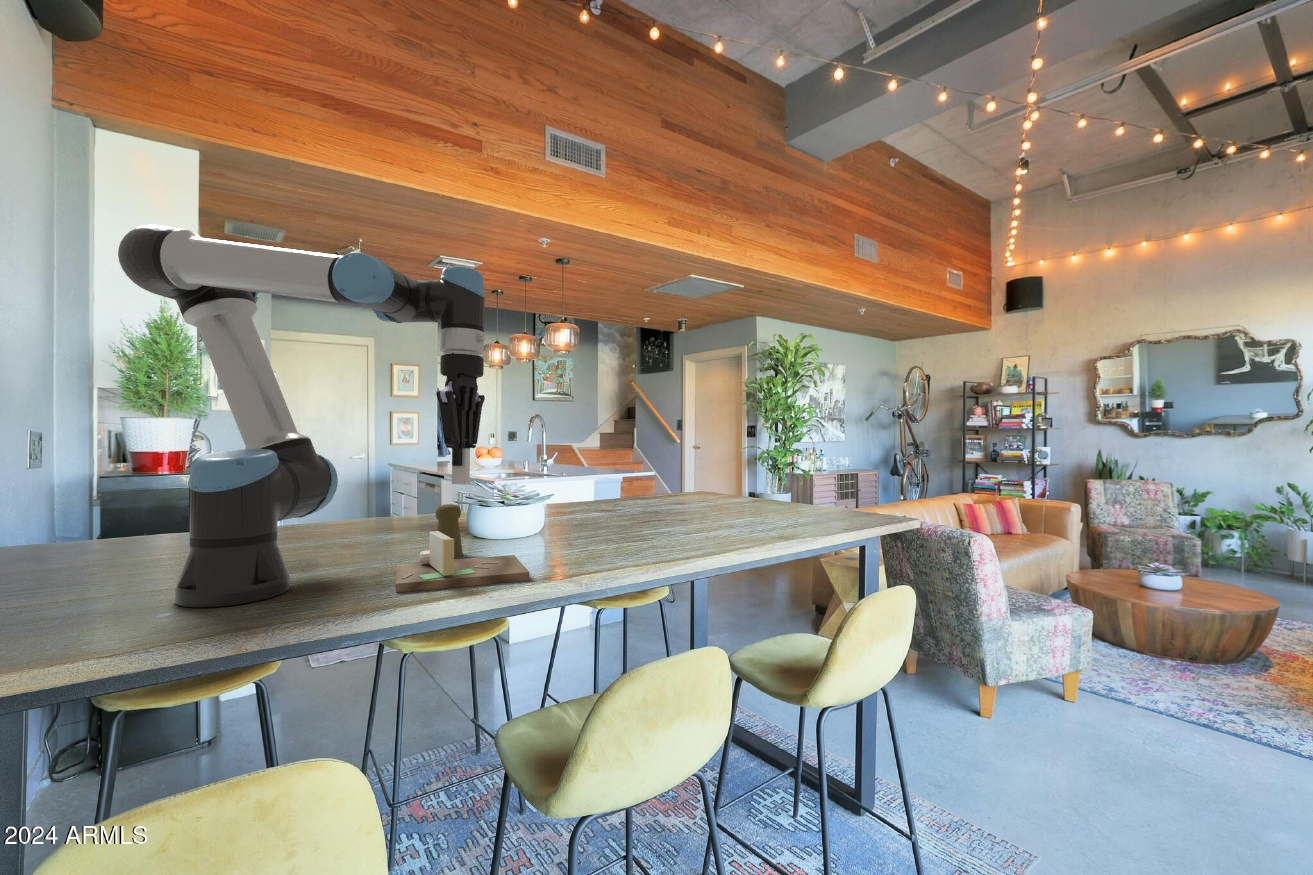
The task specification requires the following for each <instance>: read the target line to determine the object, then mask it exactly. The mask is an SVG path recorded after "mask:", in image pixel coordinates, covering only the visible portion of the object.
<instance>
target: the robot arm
mask: <svg viewBox="0 0 1313 875" xmlns="http://www.w3.org/2000/svg"><path fill="white" fill-rule="evenodd" d="M117 257H118V262H119V264H120V267H121V269H122V271H123V272H124V273H125V274H124V275H126V277H128V279H130V280H131V281H132V283H134V284H135V285H136V286H138V287H139V288H141V289H142V290H145V291H146V292H149V293H151V294H155V295H158V296H160V297H165V298H167V299H171V300H175V302H176V304H177V306H178V309H179V311H180V314H181V317H182V318H183V321H184V322H185V323H186V324H188V325H191V327H192V326H193V327H196V329H197V330H198V332H199V334H200V337H201V339H202V341H203V344H204V347H205V349H206V352H207V354H208V357H209V359H210V361H211V364H212V366H213V370H214V371H215V374H216V377H217V379H218V382H219V384H220V387H221V388H222V392H223V395H224V397H225V399H226V402H227V404H228V406H229V409H230V411H231V414H232V416H233V419H234V421H235V423H236V426H237V429H238V431H239V434H240V436H241V439H242V441H243V443H244V446H245V448H244V449H236V450H235V449H233V450H223V451H216V452H211V453H206V454H202V455H199V456H198V457H196V458H194V460H193V461H192V462H191V464H190V468H189V478H188V482H187V487H188V509H189V510H188V512H189V513H188V515H189V516H188V519H189V520H188V521H189V522H188V523H189V525H188V526H189V529H188V530H189V552H188V554H187V557H186V560H185V563H184V565H183V568H182V570H181V572H180V574H179V575H180V576H179V578H178V580H177V583H176V585H175V589H174V599H175V600H174V603H175V604H176V605H177V606H180V607H186V608H215V607H218V608H219V607H224V606H225V607H227V606H228V607H229V606H235V605H236V606H237V605H243V604H248V603H252V602H253V603H254V602H257V601H258V602H259V601H262V600H266V599H267V600H268V599H271V598H274V597H277V596H280V595H283V594H284V593H286V592H287V591H289V590H290V588H291V587H290V586H291V581H290V580H291V576H290V572H289V570H288V567H287V565H286V562H285V559H284V557H283V554H282V551H281V550H280V547H279V543H278V531H279V530H278V527H279V526H278V522H281V521H286V520H289V519H290V520H291V519H296V518H299V519H300V518H305V517H306V516H309V515H312V514H315V513H317V512H320V511H321V510H324V508H326V507H327V506H328V505H329V504H330V503H331V501H332V500H333V498H334V496H335V494H336V492H337V489H338V483H339V478H338V472H337V470H336V468H335V466H334V464H333V463H332V461H330V459H328V458H326V457H324V456H323V455H321V454H319V453H317V452H316V449H315V447H314V444H313V442H312V440H311V438H310V437H309V436H307V435H304V434H302V433H300V432H299V431H298V430H297V427H296V425H295V422H294V419H293V417H292V415H291V412H290V410H289V407H288V404H287V402H286V400H285V398H284V395H283V392H282V390H281V388H280V385H279V382H278V379H277V377H276V375H275V372H274V370H273V368H272V365H271V363H270V360H269V358H268V356H267V355H268V354H267V353H266V350H265V347H264V345H263V342H262V341H261V338H260V336H259V332H258V330H257V327H256V325H255V322H254V321H253V320H254V319H253V317H254V315H255V314H256V312H257V311H258V307H257V304H256V303H257V302H258V299H259V297H258V295H259V294H260V293H261V294H268V295H276V296H285V297H292V298H300V299H306V300H307V299H308V300H317V301H324V302H333V303H339V304H344V305H345V304H346V305H349V306H350V305H351V306H352V305H353V306H357V307H358V306H359V307H366V308H370V309H372V312H373V314H375V315H376V318H378V319H379V320H380V321H382V322H386V323H387V322H389V323H397V324H402V323H440V345H439V346H440V350H439V351H440V352H441V353H443V354H442V355H441V356H440V361H439V362H440V364H439V365H440V366H439V367H440V370H439V372H440V375H442V376H443V377H445V378H446V379H445V382H444V388H443V389H442V390H441V389H440V390H439V389H438V390H436V394H435V396H436V398H437V401H438V404H439V410H440V411H439V412H440V418H441V419H440V420H441V427H442V428H441V429H442V434H443V442H444V444H445V447H446V448H447V449H451V485H470V483H471V480H470V479H471V478H470V475H471V473H470V472H471V471H470V470H471V468H470V466H471V449H475V448H477V444H478V439H479V432H480V423H481V417H482V408H483V405H484V402H485V400H486V399H485V397H486V396H485V394H480V393H479V392H478V391H479V390H478V389H479V386H478V383H477V382H478V380H477V379H478V378H482V377H483V376H484V375H485V374H484V372H485V371H484V369H485V368H484V366H485V363H484V360H485V359H484V357H483V356H482V355H483V354H484V349H485V348H484V347H485V345H484V343H485V340H486V337H485V336H484V332H485V329H484V328H485V304H486V303H485V301H486V294H485V279H484V275H483V274H482V273H481V272H480V271H479V270H477V269H474V268H471V267H466V266H456V265H455V266H450V267H449V266H447V267H444V269H442V270H441V275H440V279H434V280H432V279H431V280H422V279H421V280H417V279H412V278H410V277H409V276H407V275H405V274H403V273H402V272H400V271H398V270H397V269H395V268H393V267H392V266H390V265H387V263H385V262H384V261H383V260H381V259H379V258H377V257H376V256H372V255H369V254H367V253H364V252H359V251H353V252H350V253H346V254H345V255H337V254H331V253H323V252H314V251H305V250H299V249H298V250H297V249H291V248H282V247H274V246H269V245H268V246H267V245H260V244H254V243H253V244H251V243H244V242H235V241H230V240H229V241H228V240H220V239H212V238H205V237H201V236H200V235H199V234H198V233H197V232H195V231H193V230H190V229H185V228H178V227H170V226H166V225H160V224H147V225H140V226H138V227H136V228H134V229H131V230H130V231H128V232H127V233H126V234H125V235H124V237H123V238H122V239H121V240H120V243H119V246H118V250H117Z"/></svg>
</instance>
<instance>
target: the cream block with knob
mask: <svg viewBox="0 0 1313 875" xmlns="http://www.w3.org/2000/svg"><path fill="white" fill-rule="evenodd" d="M428 539H429V540H428V545H429V547H428V548H429V549H428V550H423V551H420V552H419V562H420V563H423V564H430V565H431V566H433V567H434V568H435V569H436V570H438V571H439V572H440V573H441V574H442V575H444V576H446V575H454V560H455V557H454V539H453V538H450V537H448V536H446V535H444V534H443V533H441V532H439V531H437V530H436V531H433V530H432V531H429V538H428Z"/></svg>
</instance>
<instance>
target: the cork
mask: <svg viewBox="0 0 1313 875" xmlns="http://www.w3.org/2000/svg"><path fill="white" fill-rule="evenodd" d="M461 514H462V510H461V507H460V506H459V505H457V504H452V503H446V504H442V505H439V506H437V508H436V510H435V518H436V519H437V520H438V521H437V527H436V528H437V529H436V531H439V532H441V533H443V534H444V535H446V536H448V537H450V538H453V539H454V558H459V557H462V556H463V554H464V553H463V546H462V538H461V537H462V536H461V531H460V523H459V519H460V517H461Z"/></svg>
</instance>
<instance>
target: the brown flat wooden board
mask: <svg viewBox="0 0 1313 875" xmlns="http://www.w3.org/2000/svg"><path fill="white" fill-rule="evenodd" d="M525 581H530V570H528V568H527V567H525V565H524V564H523V563H522V562H521V561H520V560H519V558H518V557H517V556H516V554H512V555H511V554H510V555H498V556H484V557H472V558H471V557H469V558H460V559H458V558H457V559H456V558H455V559H454V575H446V576H444V575H442V574H441V573H440V572H439V571H438V570H436V569H435V568H434V567H433V566H431V565H430V564H423V563H420V561H419V562H418V561H417V562H408V563H407V562H406V563H397V564H396V574H395V594H396V593H408V592H418V591H429V590H439V589H451V588H452V589H453V588H460V587H469V586H470V587H472V586H482V585H484V586H485V585H493V584H503V583H505V584H506V583H515V582H525Z"/></svg>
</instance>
